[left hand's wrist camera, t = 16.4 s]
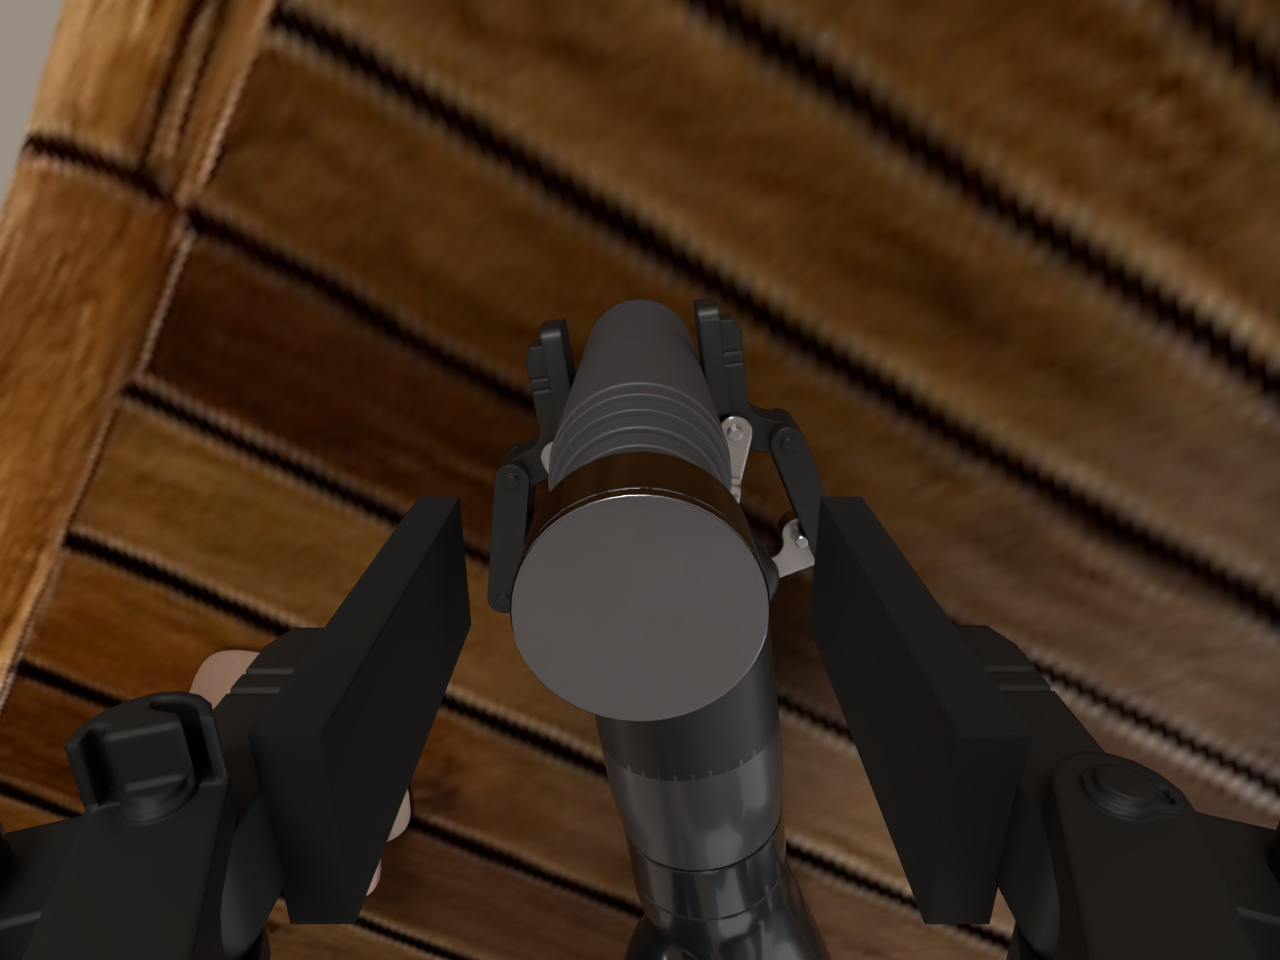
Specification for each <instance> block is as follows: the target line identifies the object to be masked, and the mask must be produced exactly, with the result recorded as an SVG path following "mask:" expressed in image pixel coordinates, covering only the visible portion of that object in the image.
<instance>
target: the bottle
mask: <svg viewBox="0 0 1280 960" xmlns="http://www.w3.org/2000/svg"><path fill="white" fill-rule="evenodd" d="M643 451H644V452H654V453H662V454H666V455H671V456H675V457H678V458H681V459H683V460H686V461H689V462H691V463H693V464H695V465H697V466H699V467H701V468H703V469H704V470H706V471H707V472H709V473H710V474H711V475H713V476H714V477H716V478H717V479H718V480H719V481H720V482H721V483H722V484H723V485H724V486H726V488H727V489H728V490H729V491H730V492H731V485H732V472H731V461H730V452H729V448H728V443H727V440H726V437H725V435H724V432H723V429H722V426H721V423H720V420H719V417H718V414H717V411H716V408H715V406H714V403H713V400H712V397H711V394H710V391H709V388H708V385H707V382H706V379H705V376H704V374H703V371H702V368H701V365H700V362H699V359H698V356H697V353H696V350H695V347H694V345H693V342H692V339H691V336H690V333H689V331H688V329H687V327H686V325H685V323H684V322H683V321H682V319H681V318H680V317H679V316H678V315H677V314H676V313H675V312H674V311H672V310H671V309H670V308H668V307H666V306H665V305H662V304H660V303H658V302H654V301H650V300H630V301H626V302H622V303H620V304H618V305H616V306H614V307H612V308H610V309H609V310H608V311H606V312H605V313H604V314H603V315H602V316H601V317H600V318H599V319H598V321H597V322H596V323H595V325H594V327H593V329H592V331H591V333H590V336H589V339H588V342H587V345H586V347H585V350H584V353H583V356H582V359H581V362H580V365H579V368H578V371H577V374H576V376H575V379H574V382H573V385H572V388H571V391H570V394H569V397H568V400H567V403H566V406H565V408H564V411H563V414H562V417H561V420H560V423H559V426H558V429H557V432H556V435H555V437H554V440H553V444H552V448H551V452H550V461H549V473H548V485H549V492H550V491H551V490H552V489H553V488H554V487H555V486H556V485H557V484H558V483H559V482H560V481H561V480H562V479H564V478H565V477H566V476H567V475H569V474H570V473H571V472H573V471H574V470H576V469H578V468H579V467H581V466H583V465H585V464H587V463H589V462H592V461H594V460H596V459H599V458H602V457H605V456H609V455H613V454H619V453H625V452H643Z"/></svg>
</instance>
